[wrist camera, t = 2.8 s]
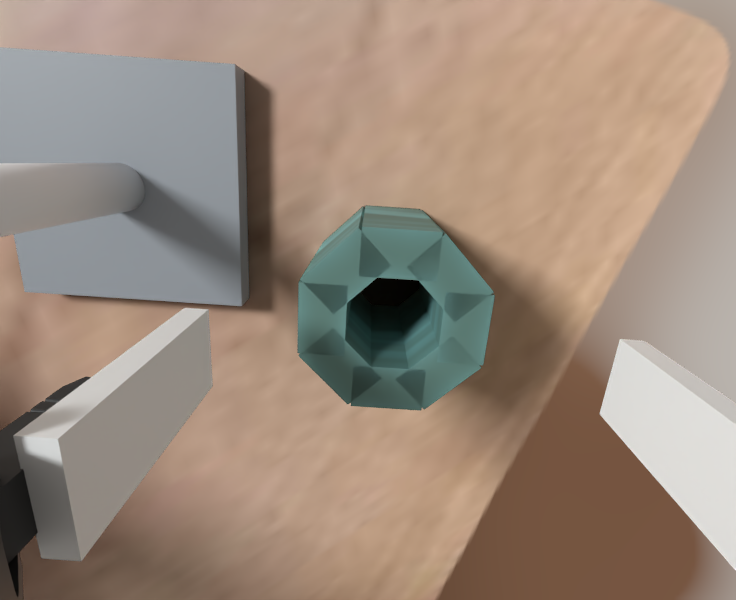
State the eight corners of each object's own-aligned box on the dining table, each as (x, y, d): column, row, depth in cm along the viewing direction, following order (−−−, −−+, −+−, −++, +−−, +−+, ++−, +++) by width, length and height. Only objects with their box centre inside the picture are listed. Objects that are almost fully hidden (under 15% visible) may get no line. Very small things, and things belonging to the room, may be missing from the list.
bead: (319, 330, 26) (296, 402, 18) (323, 202, 23) (299, 222, 16) (444, 339, 26) (475, 413, 18) (461, 211, 23) (504, 236, 16)
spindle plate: (44, 284, 25) (-378, 442, 11) (3, 53, 21) (-719, -158, 7) (249, 297, 25) (91, 470, 11) (244, 70, 21) (-4, -105, 7)
